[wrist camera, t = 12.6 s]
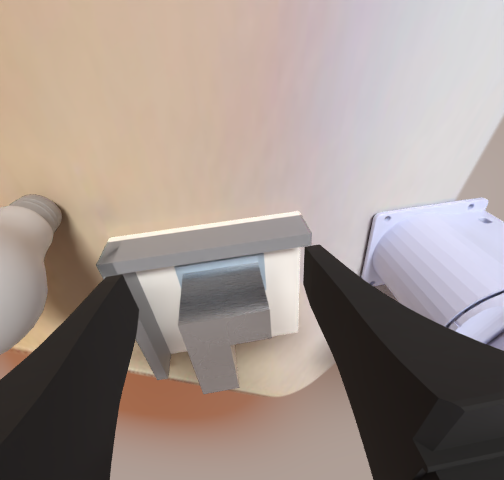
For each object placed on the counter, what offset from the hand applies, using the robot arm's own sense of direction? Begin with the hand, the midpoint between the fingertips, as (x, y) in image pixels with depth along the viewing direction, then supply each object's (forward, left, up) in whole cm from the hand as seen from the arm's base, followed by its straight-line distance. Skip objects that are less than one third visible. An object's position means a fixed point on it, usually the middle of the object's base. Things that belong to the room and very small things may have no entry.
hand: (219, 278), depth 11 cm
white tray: (+1, +10, -9) cm, 14 cm away
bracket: (0, +11, -9) cm, 14 cm away
